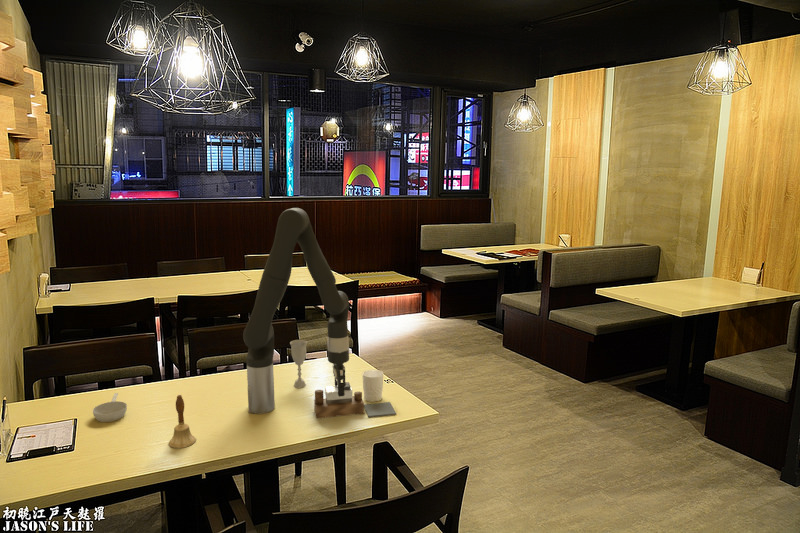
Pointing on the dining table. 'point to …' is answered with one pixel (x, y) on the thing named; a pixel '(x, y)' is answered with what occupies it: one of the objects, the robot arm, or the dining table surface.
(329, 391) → the lever cap
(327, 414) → the plane body
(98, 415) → the pan
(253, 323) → the robot arm
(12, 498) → the dining table surface
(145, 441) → the dining table surface
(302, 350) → the chalice
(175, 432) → the hand bell
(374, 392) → the white cup
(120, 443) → the dining table surface
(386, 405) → the slate mat
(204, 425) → the dining table surface
